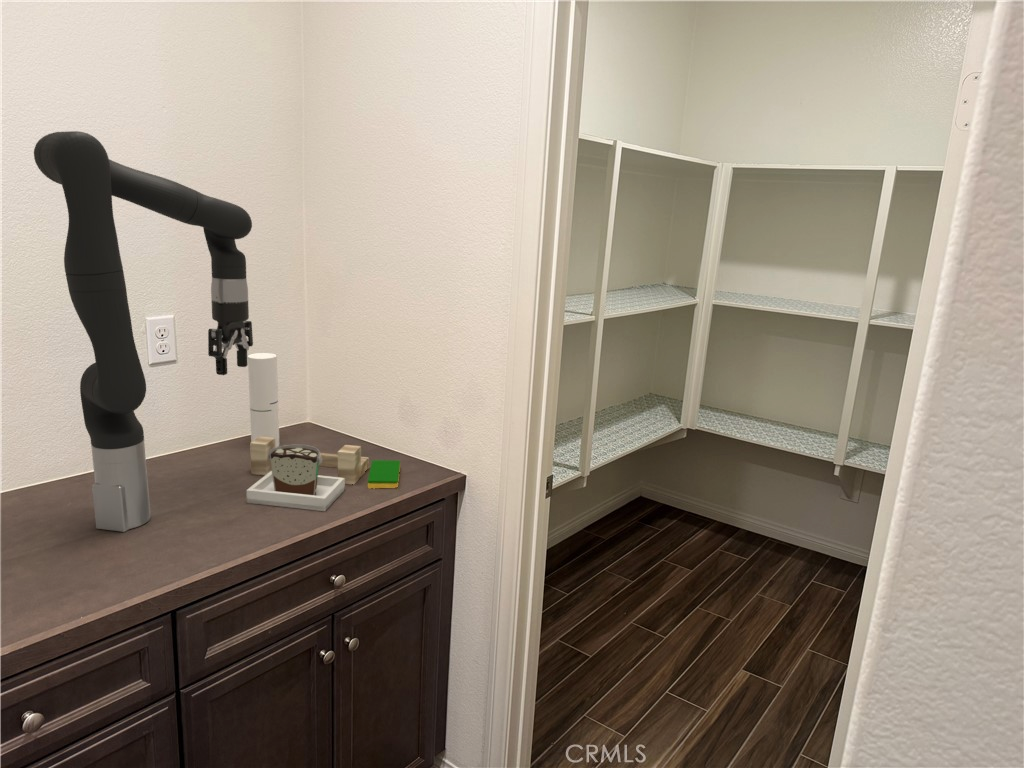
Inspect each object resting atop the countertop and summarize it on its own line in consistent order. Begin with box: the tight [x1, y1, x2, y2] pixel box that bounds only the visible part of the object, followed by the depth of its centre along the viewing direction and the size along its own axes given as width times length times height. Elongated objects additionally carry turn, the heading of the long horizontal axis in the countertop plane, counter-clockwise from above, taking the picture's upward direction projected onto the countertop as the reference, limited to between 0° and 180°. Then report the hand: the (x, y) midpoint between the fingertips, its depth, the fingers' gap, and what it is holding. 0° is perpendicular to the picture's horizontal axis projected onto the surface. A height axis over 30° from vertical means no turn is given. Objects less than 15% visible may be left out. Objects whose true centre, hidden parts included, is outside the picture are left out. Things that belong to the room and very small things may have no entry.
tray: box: [246, 471, 346, 512], centre depth 158 cm, size 12×18×3 cm, turn 83°
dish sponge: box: [367, 459, 401, 490], centre depth 172 cm, size 7×14×2 cm, turn 7°
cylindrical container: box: [247, 352, 280, 447], centre depth 186 cm, size 7×7×25 cm
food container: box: [267, 443, 322, 495], centre depth 159 cm, size 12×6×10 cm, turn 83°
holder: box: [249, 437, 370, 486], centre depth 172 cm, size 11×26×8 cm, turn 83°
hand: (232, 370), depth 156 cm, fingers open, 8 cm apart
